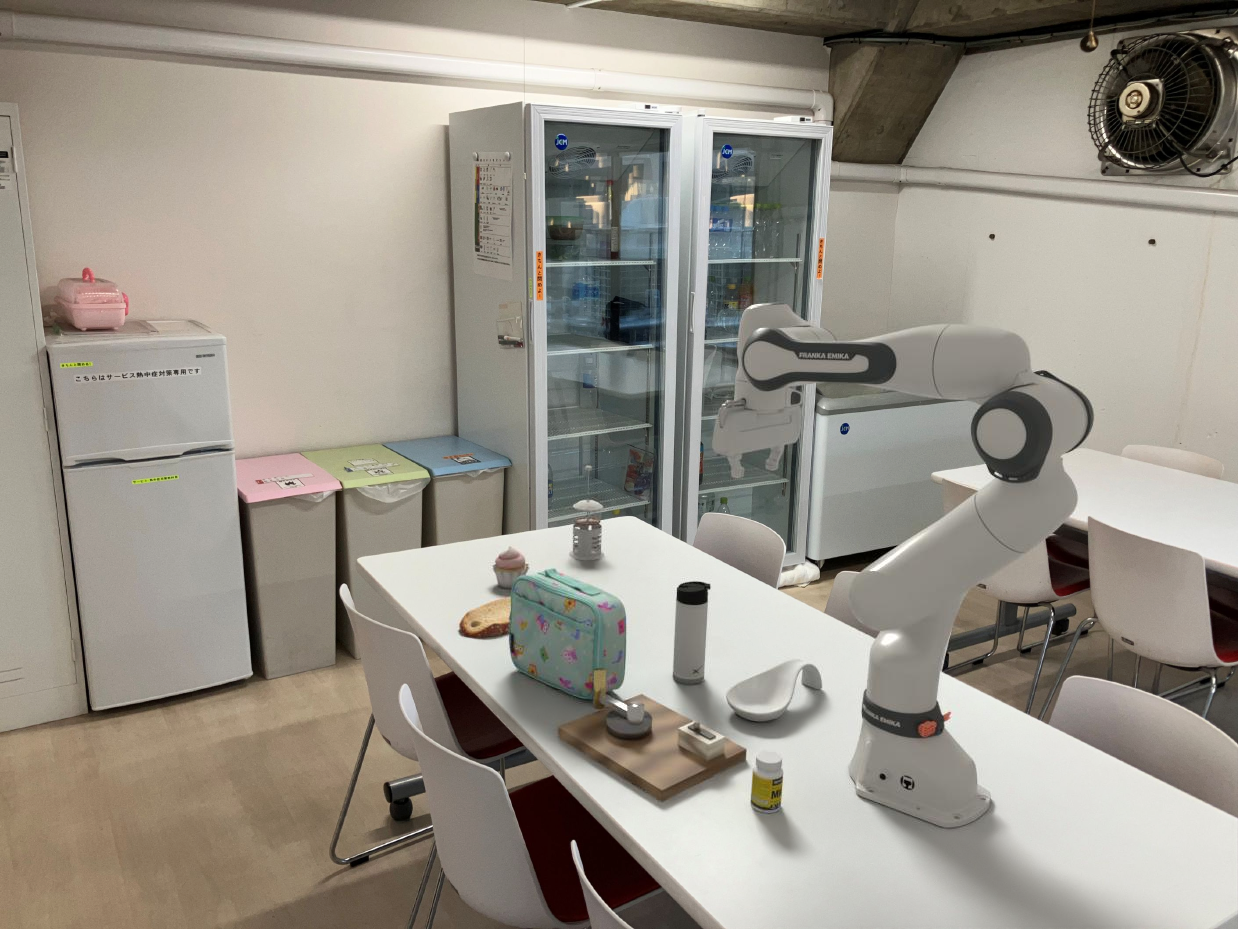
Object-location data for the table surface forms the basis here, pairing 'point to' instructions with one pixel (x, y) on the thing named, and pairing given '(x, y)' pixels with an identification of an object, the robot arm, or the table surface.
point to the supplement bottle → (767, 782)
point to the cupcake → (509, 567)
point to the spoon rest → (771, 690)
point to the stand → (656, 749)
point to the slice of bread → (487, 620)
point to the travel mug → (690, 632)
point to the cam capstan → (621, 712)
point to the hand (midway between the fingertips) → (754, 473)
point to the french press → (587, 530)
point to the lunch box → (566, 632)
